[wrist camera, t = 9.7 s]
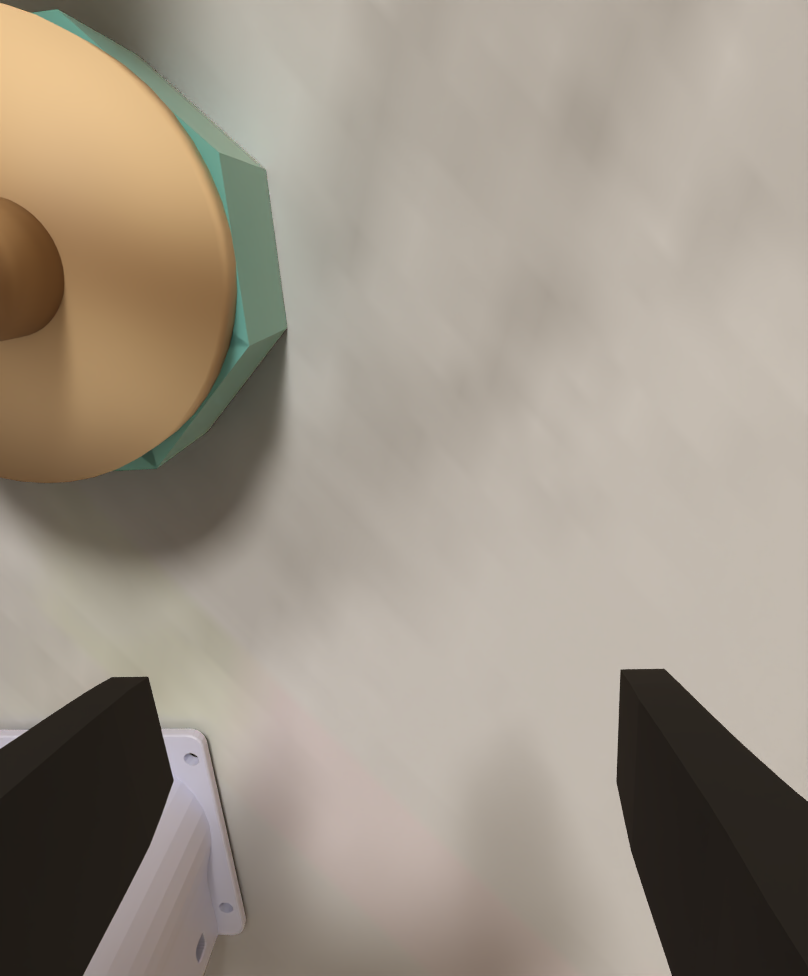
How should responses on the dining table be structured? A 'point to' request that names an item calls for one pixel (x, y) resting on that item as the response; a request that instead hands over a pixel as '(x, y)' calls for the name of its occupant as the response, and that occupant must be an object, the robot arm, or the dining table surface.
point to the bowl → (251, 238)
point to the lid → (100, 260)
